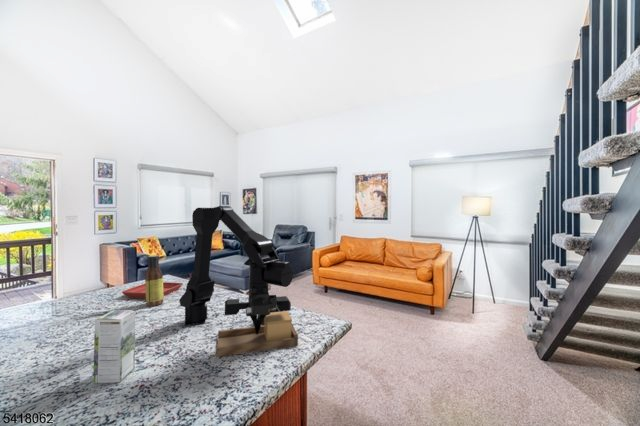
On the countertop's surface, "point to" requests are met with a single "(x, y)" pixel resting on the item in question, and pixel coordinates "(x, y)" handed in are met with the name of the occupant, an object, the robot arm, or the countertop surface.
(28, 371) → the countertop surface
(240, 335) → the bay
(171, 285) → the plant saucer
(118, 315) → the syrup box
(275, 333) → the tan cardboard box
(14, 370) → the countertop surface
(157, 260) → the sauce bottle
